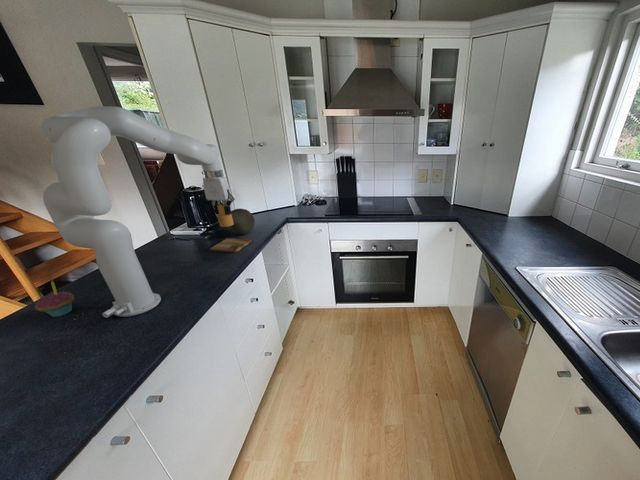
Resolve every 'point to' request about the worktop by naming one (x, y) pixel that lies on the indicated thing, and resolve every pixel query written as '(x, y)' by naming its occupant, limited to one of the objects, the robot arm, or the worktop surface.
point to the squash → (224, 216)
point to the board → (230, 245)
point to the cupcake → (55, 303)
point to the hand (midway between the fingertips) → (223, 213)
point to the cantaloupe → (242, 221)
